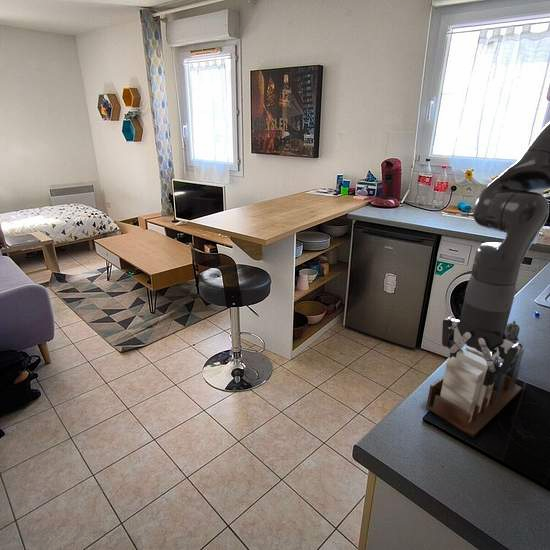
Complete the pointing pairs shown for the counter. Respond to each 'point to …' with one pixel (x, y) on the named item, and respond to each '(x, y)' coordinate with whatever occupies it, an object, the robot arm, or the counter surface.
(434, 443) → the counter surface
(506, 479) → the counter surface
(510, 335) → the stone chess piece
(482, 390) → the white book
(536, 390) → the counter surface
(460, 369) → the book rack
